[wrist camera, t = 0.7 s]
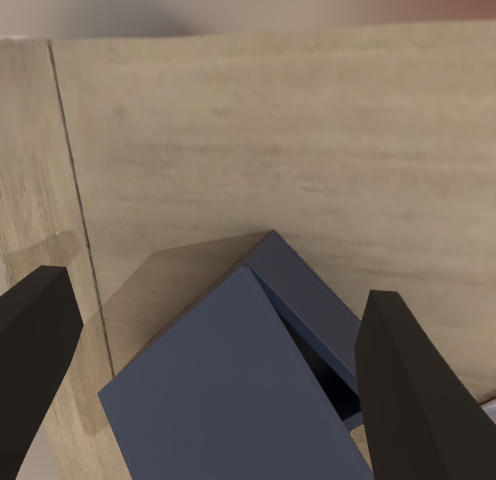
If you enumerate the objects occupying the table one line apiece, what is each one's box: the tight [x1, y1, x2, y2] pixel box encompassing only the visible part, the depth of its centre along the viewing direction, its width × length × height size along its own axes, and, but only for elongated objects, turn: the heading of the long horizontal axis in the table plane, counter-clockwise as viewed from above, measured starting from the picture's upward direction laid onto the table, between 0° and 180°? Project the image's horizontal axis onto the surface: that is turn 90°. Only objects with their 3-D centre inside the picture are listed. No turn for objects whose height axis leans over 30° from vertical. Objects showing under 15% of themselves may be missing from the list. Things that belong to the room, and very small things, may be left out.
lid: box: [97, 266, 375, 480], centre depth 25 cm, size 12×16×1 cm
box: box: [115, 230, 364, 432], centre depth 30 cm, size 12×16×6 cm
